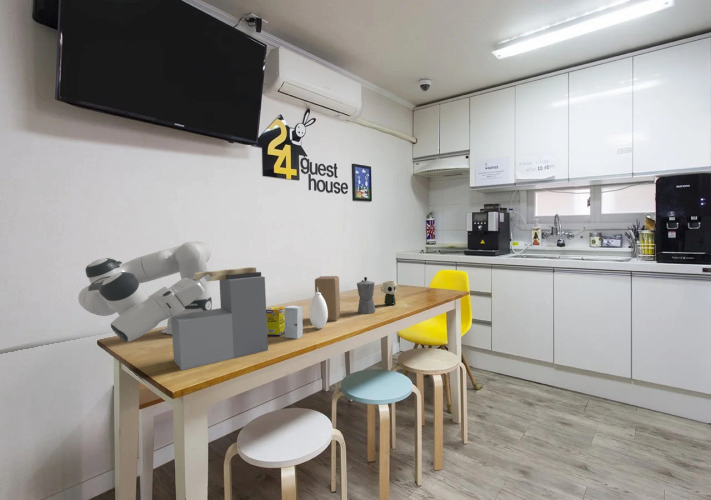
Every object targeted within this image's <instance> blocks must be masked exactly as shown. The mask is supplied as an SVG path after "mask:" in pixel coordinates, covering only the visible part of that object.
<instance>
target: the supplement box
mask: <svg viewBox="0 0 711 500" xmlns="http://www.w3.org/2000/svg"><path fill="white" fill-rule="evenodd" d="M285 307H286V306H271V307H269V308H266V317H267V337H281V336H283V335H285Z"/></svg>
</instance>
